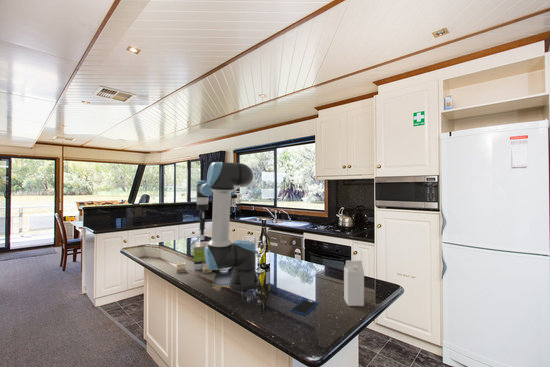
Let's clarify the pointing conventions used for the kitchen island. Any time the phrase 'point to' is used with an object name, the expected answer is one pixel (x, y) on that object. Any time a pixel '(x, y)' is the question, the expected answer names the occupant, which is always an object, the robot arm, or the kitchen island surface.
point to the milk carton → (354, 283)
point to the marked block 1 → (181, 267)
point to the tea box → (199, 254)
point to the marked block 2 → (205, 268)
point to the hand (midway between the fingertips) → (201, 239)
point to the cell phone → (304, 307)
